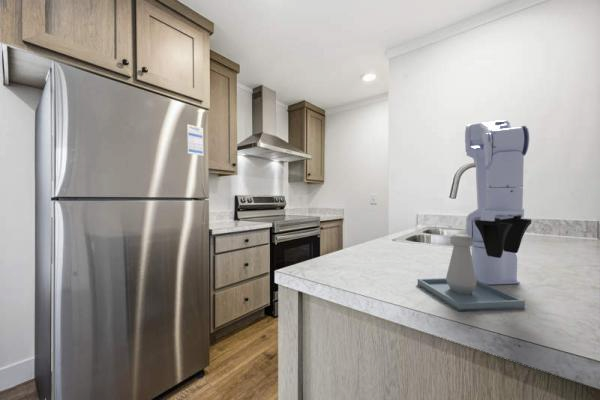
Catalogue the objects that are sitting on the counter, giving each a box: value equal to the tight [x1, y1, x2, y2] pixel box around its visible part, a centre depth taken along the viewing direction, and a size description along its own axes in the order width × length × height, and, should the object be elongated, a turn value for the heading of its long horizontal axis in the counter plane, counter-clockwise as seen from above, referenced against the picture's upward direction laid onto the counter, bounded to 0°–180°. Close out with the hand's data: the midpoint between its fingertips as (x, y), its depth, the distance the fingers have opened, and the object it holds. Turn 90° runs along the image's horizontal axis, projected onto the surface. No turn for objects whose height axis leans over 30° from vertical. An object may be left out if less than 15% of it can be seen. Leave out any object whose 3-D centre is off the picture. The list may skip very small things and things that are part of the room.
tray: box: [417, 277, 526, 313], centre depth 55 cm, size 14×14×2 cm
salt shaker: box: [445, 233, 476, 295], centre depth 56 cm, size 6×6×13 cm
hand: (502, 254), depth 50 cm, fingers open, 7 cm apart
